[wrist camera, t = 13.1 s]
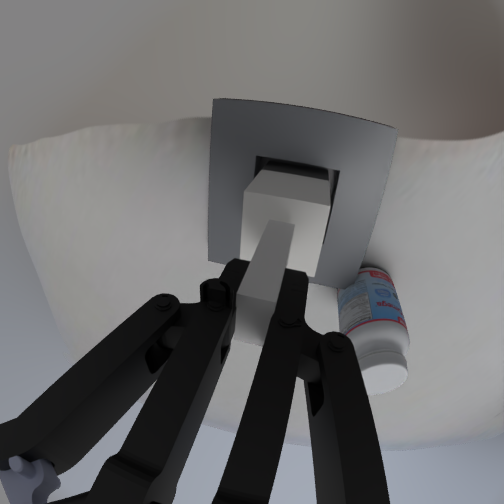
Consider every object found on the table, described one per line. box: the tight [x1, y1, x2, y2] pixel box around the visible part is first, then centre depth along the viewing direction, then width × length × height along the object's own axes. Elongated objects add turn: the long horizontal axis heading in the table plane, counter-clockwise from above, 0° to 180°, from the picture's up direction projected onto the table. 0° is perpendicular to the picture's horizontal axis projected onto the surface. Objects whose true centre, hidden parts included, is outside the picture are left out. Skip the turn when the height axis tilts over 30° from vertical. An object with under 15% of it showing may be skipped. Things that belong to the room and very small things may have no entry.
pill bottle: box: [337, 268, 410, 395], centre depth 22 cm, size 6×6×11 cm
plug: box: [240, 161, 331, 277], centre depth 20 cm, size 5×5×8 cm
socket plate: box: [208, 98, 398, 290], centre depth 23 cm, size 15×14×2 cm
